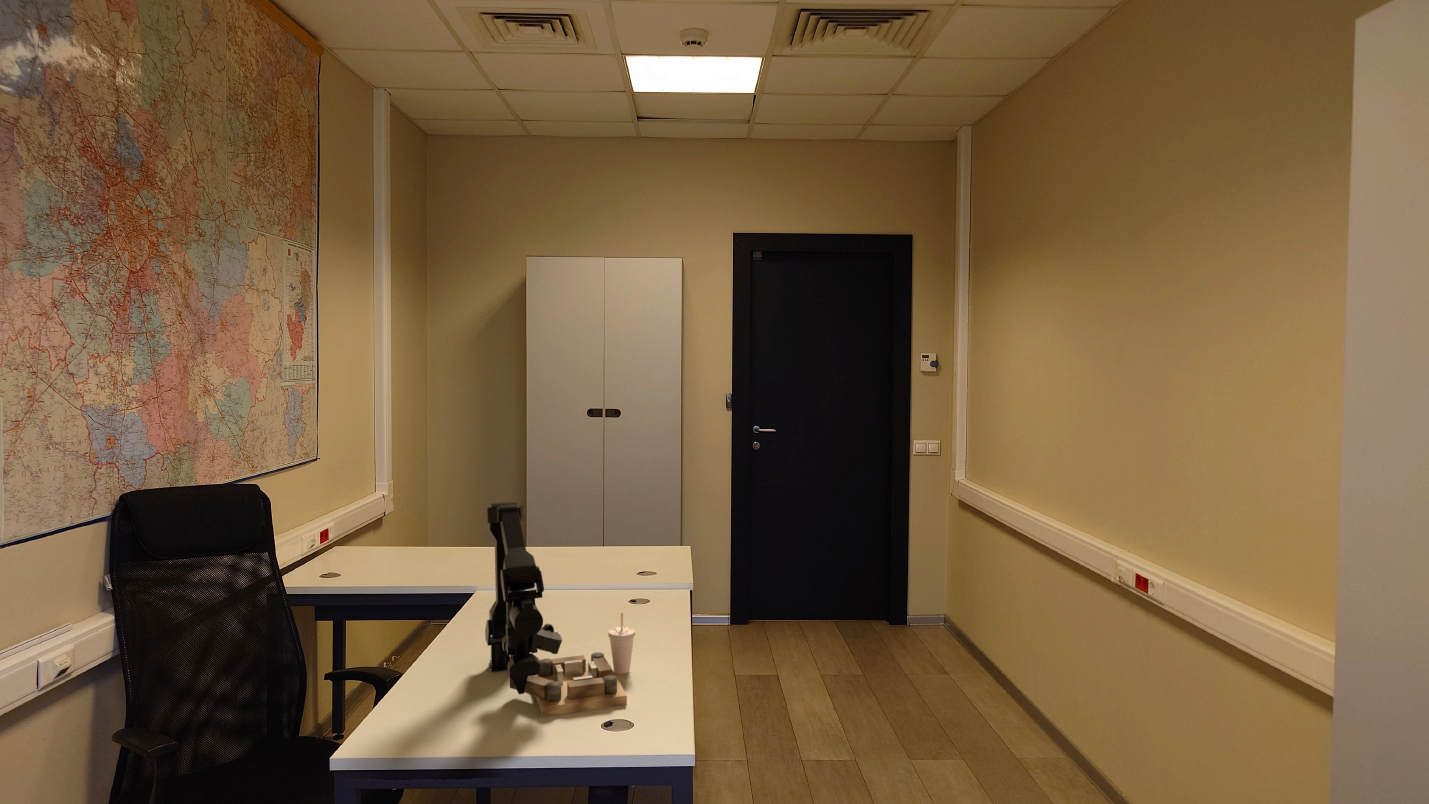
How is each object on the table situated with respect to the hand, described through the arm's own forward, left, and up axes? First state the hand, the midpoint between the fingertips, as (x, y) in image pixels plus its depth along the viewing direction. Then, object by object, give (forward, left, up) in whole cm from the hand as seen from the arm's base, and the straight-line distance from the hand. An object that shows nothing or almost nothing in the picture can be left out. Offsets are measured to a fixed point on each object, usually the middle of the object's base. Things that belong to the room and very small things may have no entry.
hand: (521, 693), depth 167 cm
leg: (+3, +1, -1) cm, 3 cm away
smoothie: (+25, +12, -3) cm, 27 cm away
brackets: (+13, +4, -1) cm, 13 cm away
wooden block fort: (+13, +4, -3) cm, 13 cm away
